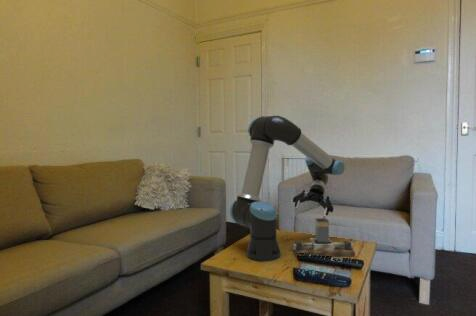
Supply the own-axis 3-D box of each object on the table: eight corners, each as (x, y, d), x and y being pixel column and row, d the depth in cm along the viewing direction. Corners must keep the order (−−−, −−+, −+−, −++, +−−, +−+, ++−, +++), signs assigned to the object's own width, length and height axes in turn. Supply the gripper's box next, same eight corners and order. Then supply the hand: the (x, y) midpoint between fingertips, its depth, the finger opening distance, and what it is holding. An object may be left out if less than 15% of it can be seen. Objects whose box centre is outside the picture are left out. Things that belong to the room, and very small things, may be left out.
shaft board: (294, 257, 150) (294, 245, 149) (290, 247, 162) (290, 237, 161) (356, 256, 149) (356, 244, 149) (347, 247, 161) (347, 236, 161)
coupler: (317, 249, 153) (317, 221, 152) (315, 245, 158) (315, 218, 157) (328, 249, 153) (329, 221, 152) (326, 245, 158) (326, 218, 157)
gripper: (339, 201, 179) (334, 227, 162) (293, 189, 187) (283, 213, 170) (342, 190, 175) (337, 215, 158) (295, 178, 183) (285, 201, 166)
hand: (309, 214), depth 164 cm, fingers open, 13 cm apart
